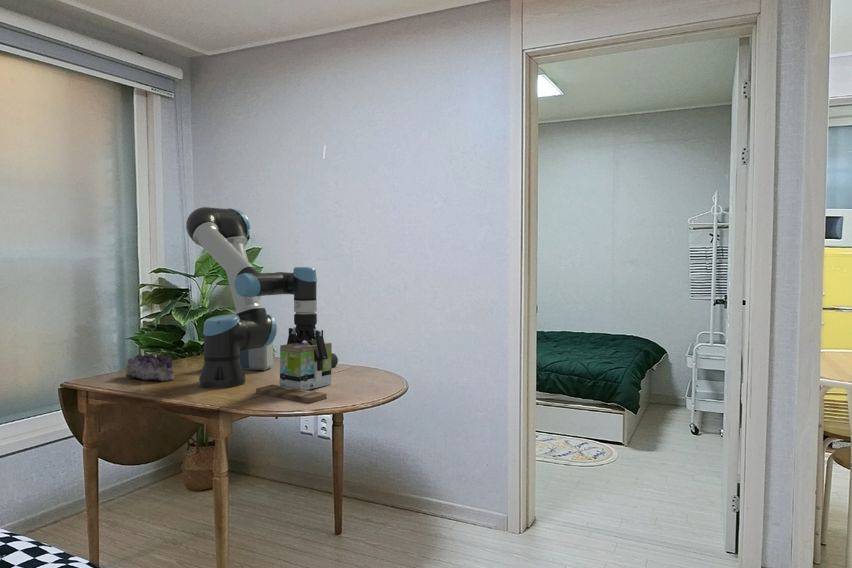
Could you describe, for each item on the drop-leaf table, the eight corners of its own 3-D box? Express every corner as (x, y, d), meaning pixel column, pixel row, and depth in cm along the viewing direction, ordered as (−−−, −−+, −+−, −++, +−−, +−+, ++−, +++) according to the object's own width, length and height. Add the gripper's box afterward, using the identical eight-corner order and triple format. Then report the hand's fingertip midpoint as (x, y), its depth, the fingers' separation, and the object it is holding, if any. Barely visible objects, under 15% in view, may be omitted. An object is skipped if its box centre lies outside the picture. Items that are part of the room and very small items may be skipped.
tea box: (301, 393, 191) (300, 347, 190) (279, 389, 197) (278, 344, 196) (332, 384, 204) (332, 341, 203) (311, 381, 209) (310, 339, 209)
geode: (187, 377, 216) (185, 351, 214) (162, 388, 206) (158, 360, 204) (147, 371, 225) (145, 345, 223) (121, 381, 214) (117, 354, 213)
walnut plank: (256, 393, 191) (255, 388, 191) (272, 389, 197) (272, 384, 197) (310, 403, 178) (310, 397, 178) (326, 398, 184) (326, 393, 184)
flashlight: (311, 373, 224) (311, 359, 223) (301, 372, 227) (300, 358, 226) (338, 367, 237) (338, 353, 236) (328, 365, 239) (328, 352, 239)
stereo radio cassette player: (216, 369, 231) (215, 318, 230) (228, 365, 239) (227, 316, 238) (265, 371, 226) (264, 319, 225) (275, 367, 234) (275, 317, 233)
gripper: (273, 312, 202) (274, 376, 203) (322, 315, 190) (323, 384, 191) (289, 310, 208) (290, 373, 209) (338, 313, 196) (339, 380, 197)
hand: (306, 378), depth 200 cm, fingers closed on tea box, 10 cm apart
